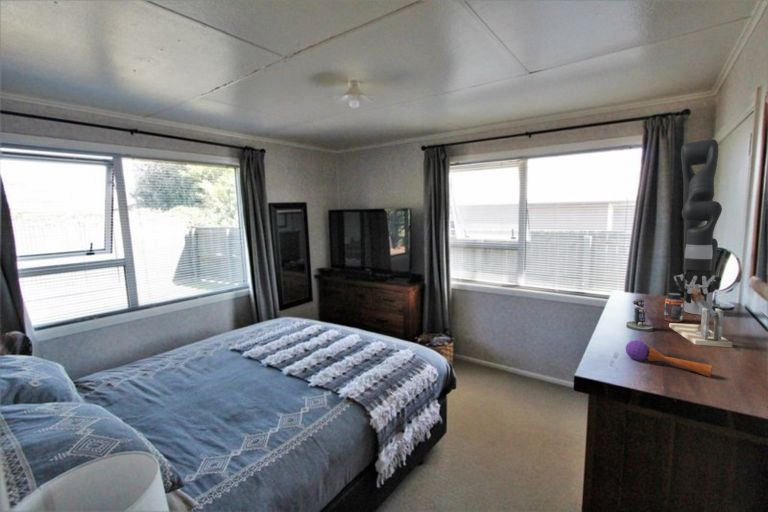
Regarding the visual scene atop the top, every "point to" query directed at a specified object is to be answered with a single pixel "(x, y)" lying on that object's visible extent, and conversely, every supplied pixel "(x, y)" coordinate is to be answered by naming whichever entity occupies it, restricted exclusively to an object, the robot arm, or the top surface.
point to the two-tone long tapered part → (663, 357)
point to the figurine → (639, 318)
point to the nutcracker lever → (702, 302)
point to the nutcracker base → (704, 330)
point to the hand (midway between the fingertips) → (694, 302)
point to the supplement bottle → (673, 308)
